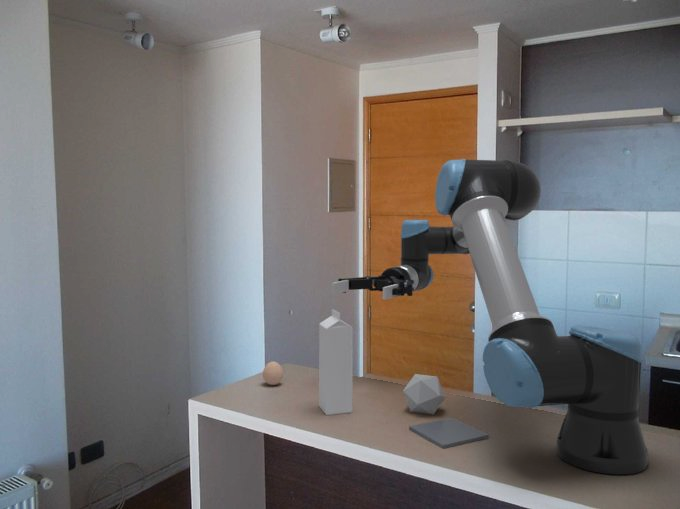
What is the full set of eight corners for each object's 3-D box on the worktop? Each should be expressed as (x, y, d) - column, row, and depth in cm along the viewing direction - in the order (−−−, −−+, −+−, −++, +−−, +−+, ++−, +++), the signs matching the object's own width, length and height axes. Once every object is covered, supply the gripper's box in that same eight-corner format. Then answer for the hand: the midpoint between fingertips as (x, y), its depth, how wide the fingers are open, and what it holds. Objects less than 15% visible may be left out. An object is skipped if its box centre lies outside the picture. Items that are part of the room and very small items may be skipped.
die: (449, 411, 136) (431, 371, 140) (452, 403, 129) (433, 361, 133) (415, 425, 136) (398, 385, 140) (416, 418, 128) (398, 376, 132)
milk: (326, 415, 132) (325, 314, 130) (318, 406, 137) (318, 309, 135) (353, 412, 133) (353, 312, 131) (344, 404, 139) (344, 307, 137)
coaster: (488, 437, 119) (488, 434, 119) (443, 448, 114) (443, 445, 114) (452, 420, 129) (452, 417, 129) (409, 429, 123) (409, 426, 123)
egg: (287, 385, 153) (287, 362, 153) (269, 389, 150) (269, 365, 150) (276, 380, 157) (276, 358, 157) (259, 384, 154) (259, 361, 154)
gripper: (443, 299, 154) (406, 312, 136) (357, 291, 167) (313, 302, 149) (443, 269, 153) (407, 278, 135) (357, 263, 166) (313, 271, 148)
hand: (357, 291), depth 142 cm, fingers open, 13 cm apart
